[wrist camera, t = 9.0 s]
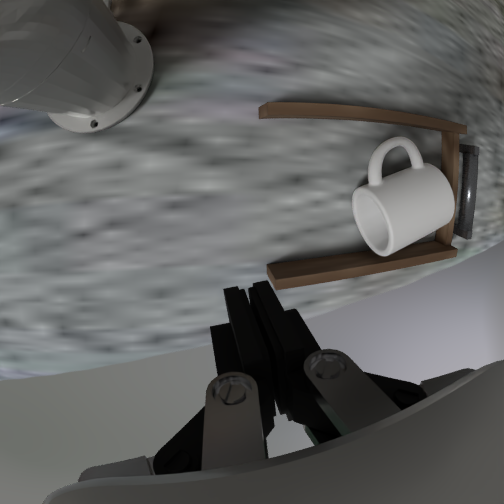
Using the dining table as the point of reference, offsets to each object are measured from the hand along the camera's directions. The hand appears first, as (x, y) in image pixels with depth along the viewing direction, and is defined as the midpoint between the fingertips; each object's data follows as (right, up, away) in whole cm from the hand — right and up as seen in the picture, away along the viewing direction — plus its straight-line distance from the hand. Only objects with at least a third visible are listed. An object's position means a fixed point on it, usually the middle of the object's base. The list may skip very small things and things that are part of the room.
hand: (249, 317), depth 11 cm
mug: (+16, +11, +22) cm, 29 cm away
